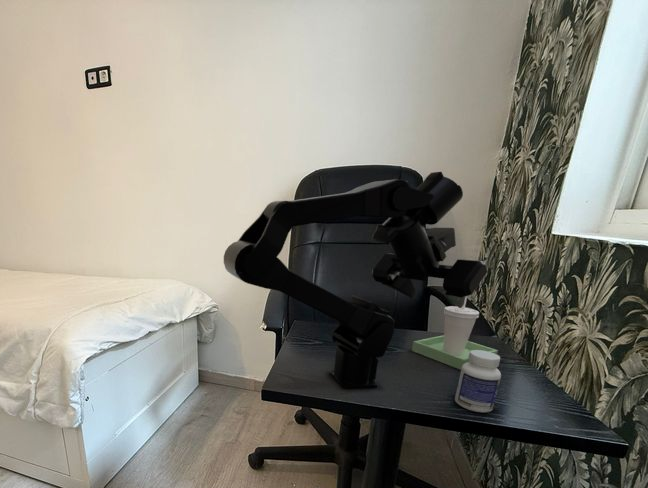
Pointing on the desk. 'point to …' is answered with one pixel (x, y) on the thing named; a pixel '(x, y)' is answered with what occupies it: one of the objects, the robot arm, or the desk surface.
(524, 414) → the desk surface
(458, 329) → the smoothie
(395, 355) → the desk surface
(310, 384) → the desk surface
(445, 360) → the tray
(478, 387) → the pill bottle
